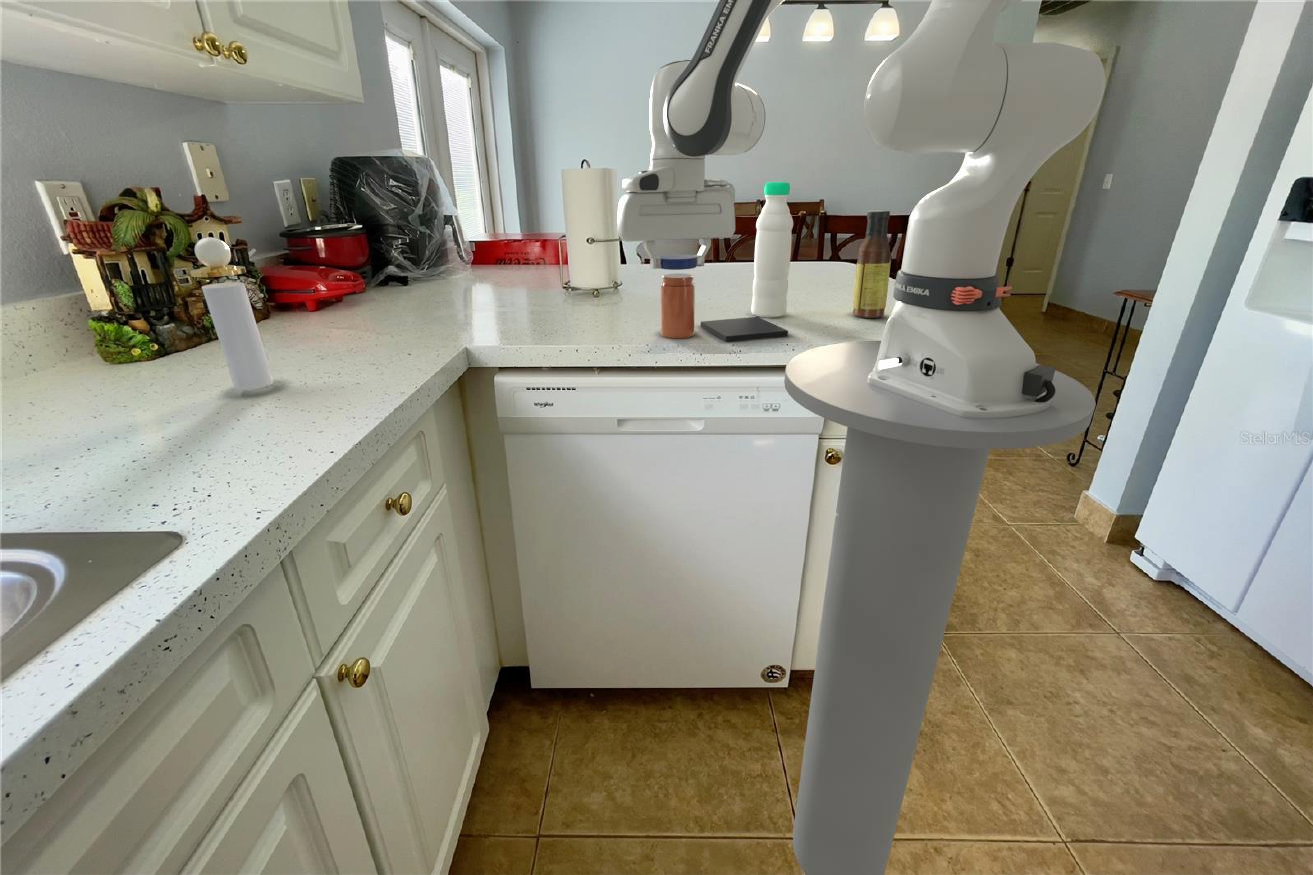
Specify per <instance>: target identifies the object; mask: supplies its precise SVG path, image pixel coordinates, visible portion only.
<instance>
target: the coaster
mask: <svg viewBox="0 0 1313 875" xmlns="http://www.w3.org/2000/svg"><path fill="white" fill-rule="evenodd" d="M700 328H701V329H702V328H703V329H704V330H705V331H707V332H709V333H710V334H712V335H714V336H716V337H717V338H719V339H720V340H722V341H723V342H725V343H731V342H740V341H748V340H750V341H751V340H761V339H771V338H781V337H788V336H789V330H787V329H786V328H784V327H781V326H780V325H777V324H775V323H773V322H771V321H768V320H766V319H763V317H759V316H749V317H736V318H726V319H715V320H714V319H713V320H702V321H700Z"/></svg>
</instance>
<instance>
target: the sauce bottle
mask: <svg viewBox="0 0 1313 875" xmlns="http://www.w3.org/2000/svg"><path fill="white" fill-rule="evenodd" d="M890 218H891V211H890V210H882V209H881V210H867V215H866V219H867V222H866V223H867V225H866V232H865V237H864V239H863V241H862V243H861V244H860V246H859V248H858V252H857V261H856V269H855V279H854V291H853V299H852V300H853V301H852V308H853V310H852V315H853V316H855V317H858V318H862V319H863V318H864V319H877V318H882V317H883V316H884V315H885V311H886V307H887V299H888V290H889V282H890V272H891V263H892V255H891V254H892V253H891V248H890V242H889V237H888V227H889V220H890Z"/></svg>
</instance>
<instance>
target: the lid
mask: <svg viewBox="0 0 1313 875" xmlns="http://www.w3.org/2000/svg"><path fill="white" fill-rule="evenodd" d="M694 255H695V254H694ZM694 255H693V254H664V255H660V256H658V257H659V258H661V261H662V262H661V269H660V270H670V271H671V270H672V271H679V270H680V271H681V270H683V271H684V270H693V269H695V268H697V267H696V266H697V257H696V256H694Z"/></svg>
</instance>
